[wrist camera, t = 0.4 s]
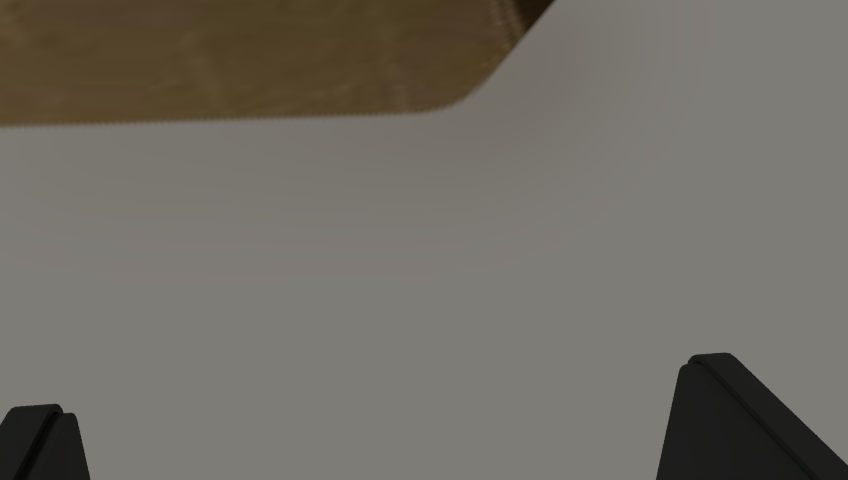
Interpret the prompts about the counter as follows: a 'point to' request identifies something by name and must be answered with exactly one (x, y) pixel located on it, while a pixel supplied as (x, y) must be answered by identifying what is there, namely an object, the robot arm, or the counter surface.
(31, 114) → the counter surface
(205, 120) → the counter surface
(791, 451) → the robot arm
